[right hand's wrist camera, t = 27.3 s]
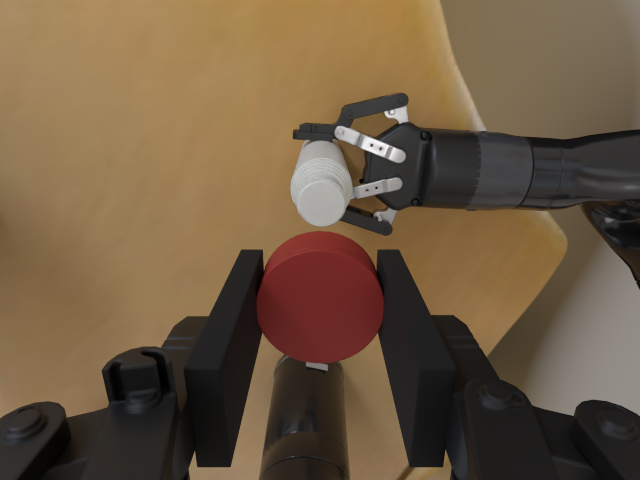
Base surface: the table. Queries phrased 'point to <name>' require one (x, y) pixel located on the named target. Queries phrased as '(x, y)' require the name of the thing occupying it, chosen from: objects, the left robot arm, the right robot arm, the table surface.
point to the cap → (320, 298)
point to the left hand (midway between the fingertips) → (293, 160)
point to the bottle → (321, 183)
